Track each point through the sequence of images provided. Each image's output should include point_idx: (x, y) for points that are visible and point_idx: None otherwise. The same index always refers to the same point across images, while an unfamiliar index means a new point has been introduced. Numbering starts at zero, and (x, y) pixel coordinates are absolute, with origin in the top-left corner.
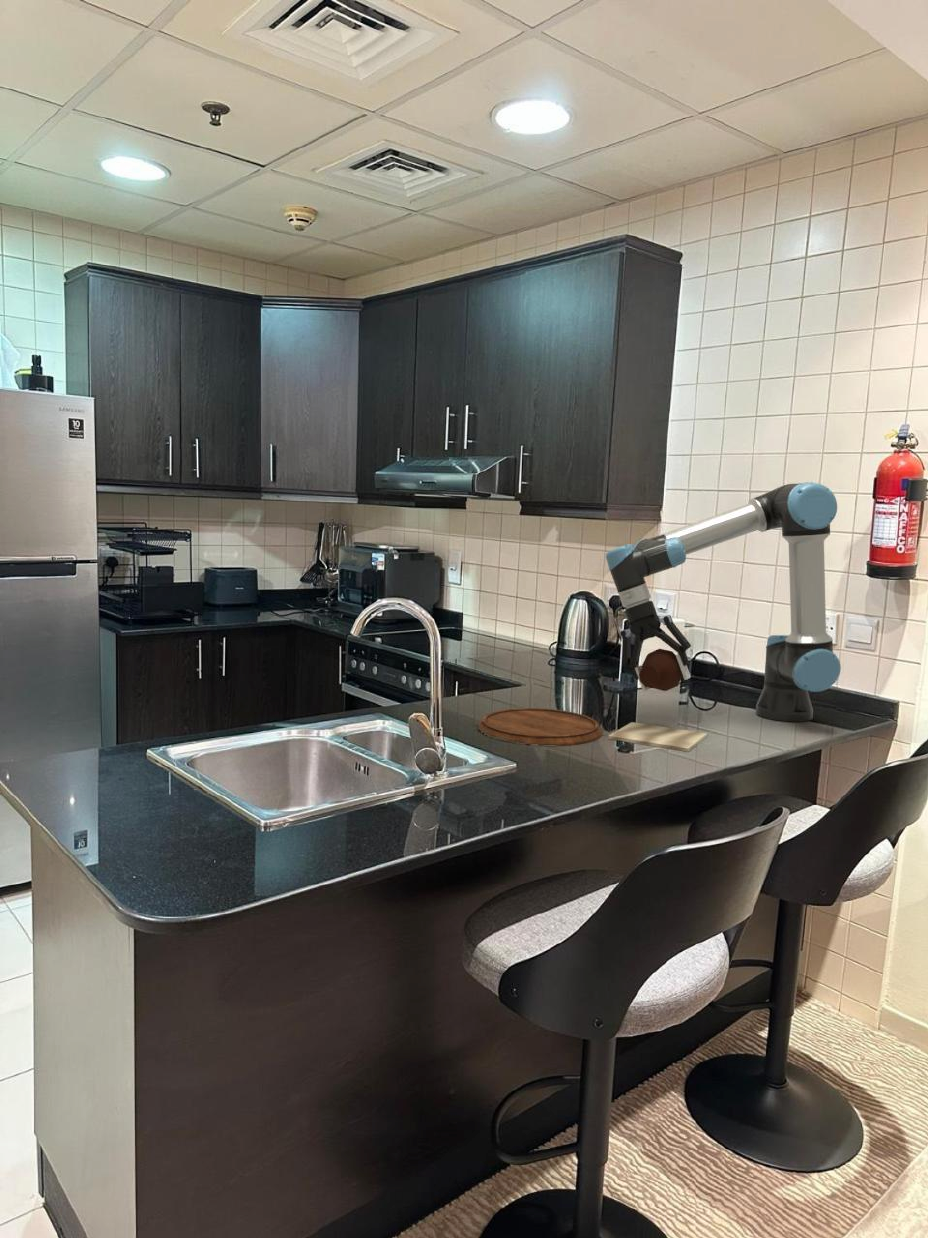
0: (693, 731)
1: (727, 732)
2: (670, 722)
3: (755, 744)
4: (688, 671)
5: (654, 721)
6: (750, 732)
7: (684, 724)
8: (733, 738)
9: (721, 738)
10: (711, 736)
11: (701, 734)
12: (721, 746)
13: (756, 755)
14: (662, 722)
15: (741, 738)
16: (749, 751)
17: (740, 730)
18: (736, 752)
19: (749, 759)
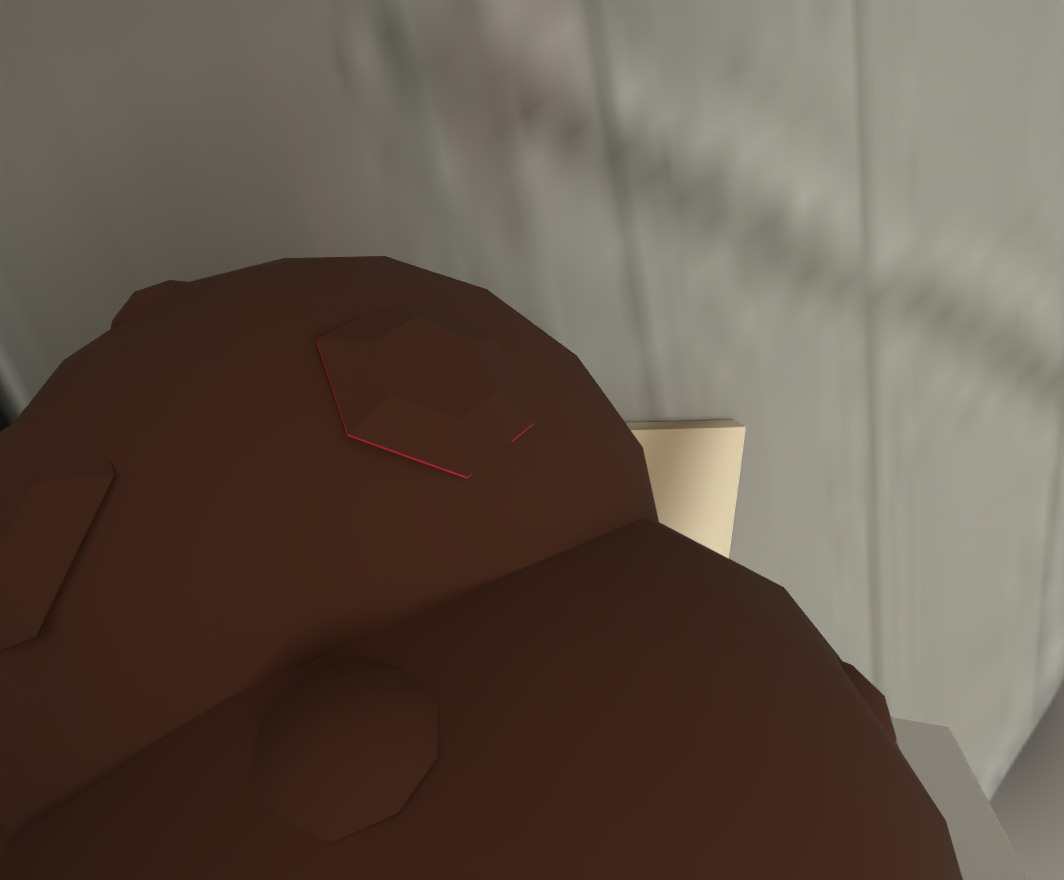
0: (634, 431)
1: (864, 158)
2: (300, 34)
3: (1041, 419)
4: (992, 841)
5: (117, 91)
6: (1032, 37)
7: (462, 48)
8: (911, 342)
9: (832, 399)
10: (759, 385)
11: (708, 490)
12: (844, 616)
13: (1029, 670)
14: (220, 89)
15: (963, 303)
16: (999, 614)
17: (961, 4)
18: (930, 687)
19: (991, 770)
